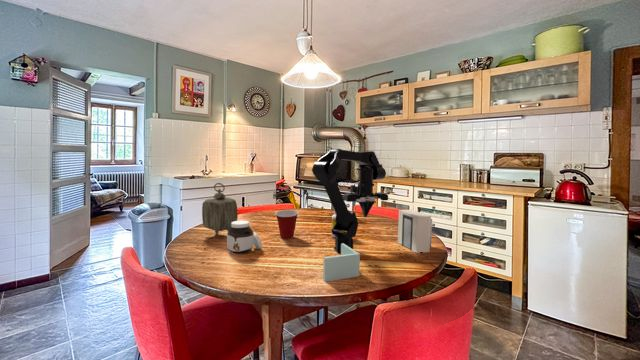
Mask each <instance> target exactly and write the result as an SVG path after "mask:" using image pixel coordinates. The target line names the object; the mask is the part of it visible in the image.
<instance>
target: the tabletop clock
mask: <svg viewBox="0 0 640 360" xmlns="http://www.w3.org/2000/svg"><path fill="white" fill-rule="evenodd" d="M218 185H220V186H222V188H223V189H222V190H221V189H220V188H218V189H216V186H218ZM213 189H214V191H216V193H215V194H214V195H213V198H209V199H208V198H207V199H205V200H204V201H203V202H202V207H201V208H202V209H201V210H202V211H201V218H202V225H203V227H204V228H206V229H209V230H212V231H214V233H215V234H214V236H213V237H214V238H215V239H217V238H218V237H219V235H218V233H219V232H223V231H227V232H228V231H229V229H230V228H231V223H232V222H234V221H238V216H239V214H238V204H237V202H236V199H233V198H231V197H226V195H225V194H224V193H223V192H224V191H225V185H224V184H223V183H222V182H216V183H215V184H214V185H213Z"/></svg>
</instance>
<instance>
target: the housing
mask: <svg viewBox="0 0 640 360" xmlns="http://www.w3.org/2000/svg"><path fill="white" fill-rule="evenodd" d="M404 218H409V219H411V246H410V249H409V250H410V251H412V252H413V251H414V253H415V252H416V253H415V254H420V252H423V253H430V248H431V247H430V226H431V219H432V217H431V215H429V214H426V213H422V212H419V211H417V210H413V209H399V210H398V222H397V223H398V227H397V228H398V230H397V244H399V245H402V246H403V244H404Z"/></svg>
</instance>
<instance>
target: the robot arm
mask: <svg viewBox="0 0 640 360" xmlns="http://www.w3.org/2000/svg"><path fill="white" fill-rule="evenodd" d="M342 160H344V161H348V162H349V161H351V162H355V164H359V165H358V166H357V167H356V171H359V180H358V181H359V182H358V184H357V186H356V185H355V184H352V185H350V187H349V188H350V191H349V192H350V193H349V192H348V193H344V194H343V195H342V192H341V190H340V188H339V185H338V183H337V175H338V173H337V170H338V168H339V167H340V165H341V161H342ZM311 171H312V174H313V175H314V177H315V179H316V180H317V181H318V182H319V183H320V184H322V186H323V187H324V189H325V191H326V194H327V196H328V199H329V201H330V203H331V205H332V208H333V211H334V210H335V212H336V219H335V221H336V224H335V225H334V227H333V228H332V227H331V235H332V234H334V235H335V237H334V247H333V250H335V252H337V253H338V254H341V244H342V243H344V244H345V245H347V246H348V247H350V248H351V249H353V250H354V239H353V238H355V237H356V236H357V235H356V234H357V231H358V228H359V227H358V226H359V218H358V217H357V215H356V212H355V211H353V210H352V211H351V210H349V209H348V207H347V204H346V202H348V203H350V202H353V203H354V202H357V203H358V205H360V206H359V207H360V209H361V212H362V215H363V217H364V218H367V217H368V215H369V213H370V211H371V209H372V208H373V205H374V204H376V203H377V201H375V199H376V200H377V199H378V200H379V199H380V200H381V201H389V195H388V194H387V193H386V192H382V191H380V192H373V191H374V190H373V187H375V183H374V181H379V180H380V181H381V180H384V178H386V175H387V172H386V169H385V168H384V167H383V164H382V163H380V162H379V159H378V157H377V154H376V152H374V151H373V150H371V151H370V150H360V151H359V150H358V151H352V150H346V149H345V150H344V149H341V148H331V149H329V151H328V152H327V153H326V154H325V155H324V154H323V156H321V157H320V158H318V160H317V161H315V162H314V163H313V166H312V168H311ZM342 230H344V231H346V232H343V231H342Z"/></svg>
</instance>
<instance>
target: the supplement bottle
mask: <svg viewBox="0 0 640 360" xmlns="http://www.w3.org/2000/svg"><path fill="white" fill-rule="evenodd" d="M333 213H334V214H332V216H331V229H332V228H333V227H334V225H335V224H336V221H335V219H336V212H335V210H334V209H333ZM342 231H343V232H347V231H344V230H342ZM331 237H332V238H335V235H334V234H332V233H331Z"/></svg>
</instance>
